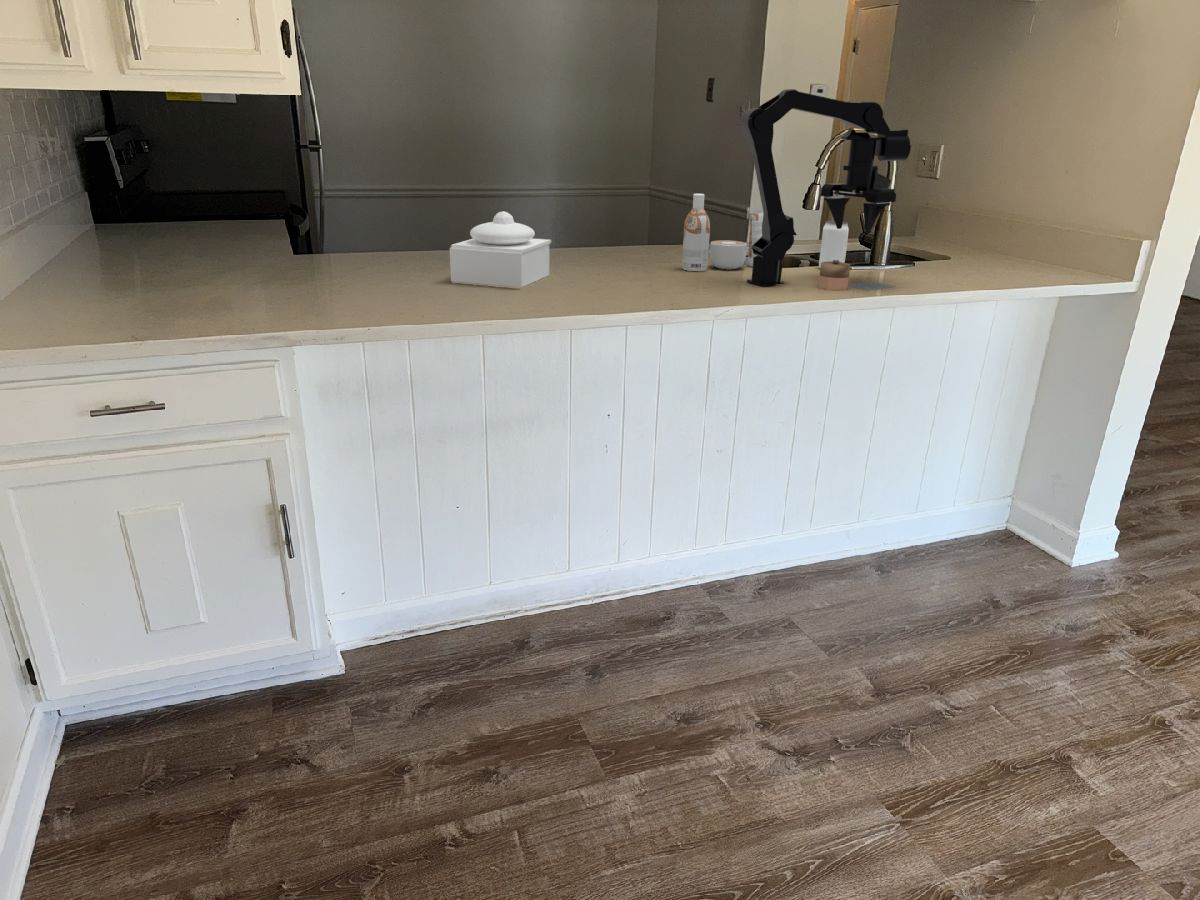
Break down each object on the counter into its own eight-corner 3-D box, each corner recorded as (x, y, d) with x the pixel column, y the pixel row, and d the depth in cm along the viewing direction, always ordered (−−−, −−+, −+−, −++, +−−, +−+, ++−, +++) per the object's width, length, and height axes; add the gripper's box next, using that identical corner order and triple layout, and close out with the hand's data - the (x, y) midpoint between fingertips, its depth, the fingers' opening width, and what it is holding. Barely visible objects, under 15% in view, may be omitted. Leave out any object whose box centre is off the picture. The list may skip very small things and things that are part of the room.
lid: (834, 278, 193) (836, 263, 191) (813, 274, 198) (815, 259, 197) (855, 276, 196) (857, 261, 195) (833, 271, 201) (835, 257, 200)
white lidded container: (451, 284, 195) (447, 212, 189) (485, 271, 211) (483, 205, 205) (521, 290, 190) (520, 217, 184) (551, 276, 206) (551, 209, 200)
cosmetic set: (757, 263, 230) (763, 191, 223) (776, 269, 222) (783, 194, 215) (674, 267, 221) (678, 192, 214) (691, 273, 213) (696, 196, 206)
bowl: (832, 292, 194) (834, 278, 193) (812, 287, 199) (814, 274, 198) (852, 290, 197) (854, 276, 196) (832, 285, 202) (833, 272, 201)
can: (844, 271, 220) (850, 224, 216) (818, 270, 221) (824, 223, 217) (842, 267, 226) (848, 221, 222) (818, 266, 227) (823, 220, 223)
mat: (867, 291, 196) (867, 290, 196) (841, 285, 202) (841, 284, 202) (896, 288, 201) (897, 286, 201) (870, 282, 207) (870, 280, 207)
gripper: (917, 162, 191) (908, 233, 196) (857, 158, 206) (849, 224, 212) (881, 163, 185) (873, 236, 191) (822, 159, 201) (815, 227, 206)
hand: (853, 230), depth 200 cm, fingers open, 9 cm apart
